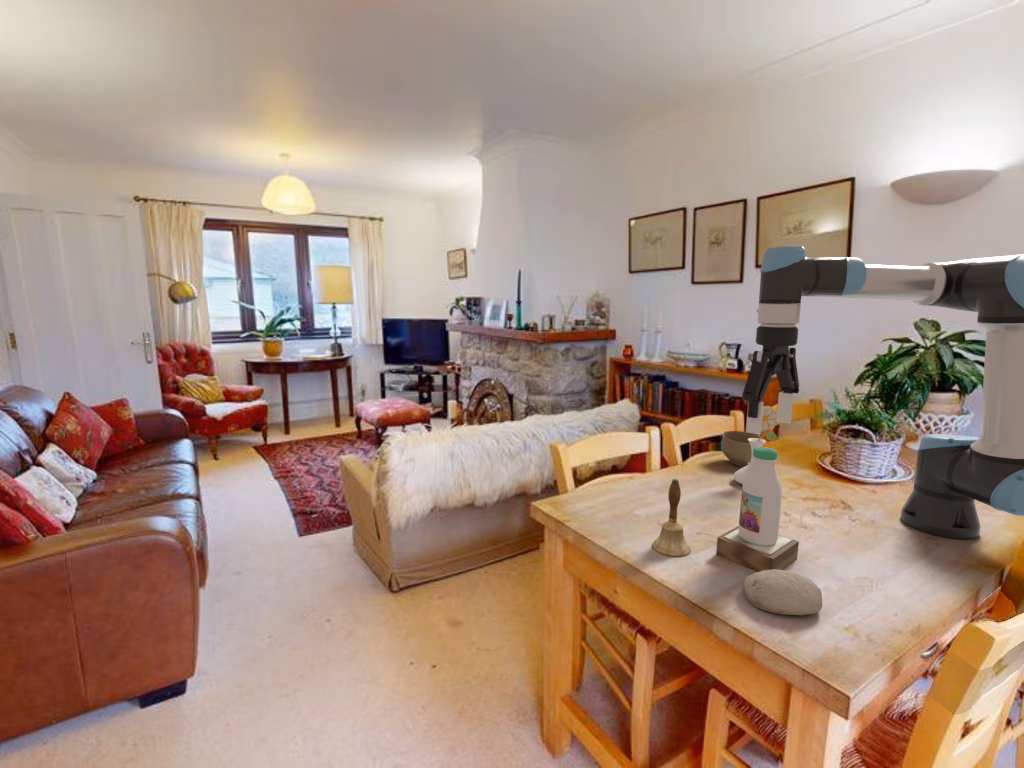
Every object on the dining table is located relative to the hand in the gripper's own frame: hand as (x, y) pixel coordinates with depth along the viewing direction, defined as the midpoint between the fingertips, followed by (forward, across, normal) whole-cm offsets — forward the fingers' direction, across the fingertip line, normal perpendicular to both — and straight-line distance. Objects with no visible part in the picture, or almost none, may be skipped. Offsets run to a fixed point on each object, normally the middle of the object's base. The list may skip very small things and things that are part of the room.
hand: (769, 427), depth 107 cm
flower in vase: (+29, -43, -21) cm, 56 cm away
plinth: (+29, 0, 0) cm, 29 cm away
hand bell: (+29, +11, -14) cm, 34 cm away
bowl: (+29, -59, -34) cm, 74 cm away
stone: (+29, +14, +11) cm, 34 cm away
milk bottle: (+25, +1, 0) cm, 25 cm away
